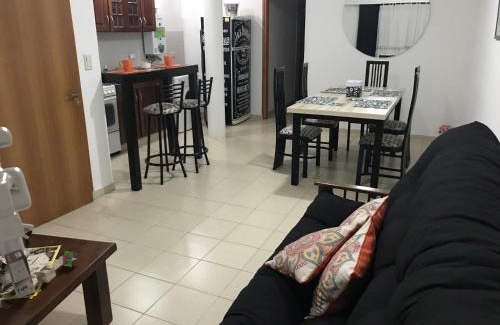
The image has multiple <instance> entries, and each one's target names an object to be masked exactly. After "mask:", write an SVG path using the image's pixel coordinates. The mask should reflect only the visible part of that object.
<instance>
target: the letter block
mask: <svg viewBox="0 0 500 325" xmlns="http://www.w3.org/2000/svg"><path fill="white" fill-rule="evenodd" d="M55 270H56V269H55V265H51V264H50V265H49V264H42V265H41V266H40V267H39V268H37V269H36V270H35V275H36V280H37V282H38V283H50V282H51V281H52V280H53V279H54V278H55V277H56V276H57V275H56V271H55Z"/></svg>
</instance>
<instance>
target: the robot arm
mask: <svg viewBox="0 0 500 325" xmlns="http://www.w3.org/2000/svg"><path fill="white" fill-rule="evenodd" d="M12 145H13V135H12V133H11V131H10V129H8V128H7V127H5V126H0V149H3V148H4V149H5V148H8V147H11V146H12ZM0 159H1V156H0ZM12 189H13V190H12ZM11 190H12V191H11ZM31 206H32V198H31V194H30V191H29V188H28V184H27V181H26V179H25V175H24V173H23V170H22V169H21V168H20V167H16V166H12V167H11V166H10V167H6V168H3V167H2V162H0V256H2V258H5V256H4V255H5V254H8V253H10V252H13V251H16V250H19V249H21V250H22V251H23V253H24V254H25V256H26V257H27V258H28V257H29V256H30V254H31V252H30V249H29V248H30V247H29V246H30V245H31V243H30V236H31V235H32V234H33V232H34V229H35V226H34V224H31V223H24V222H22V218H21V216H20V214H19V212H20V211H25V210H29V209H30V208H31ZM25 229H28V230H27V231H25ZM23 239H24V240H23ZM24 243H25V245H24Z"/></svg>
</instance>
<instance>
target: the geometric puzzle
mask: <svg viewBox="0 0 500 325" xmlns="http://www.w3.org/2000/svg"><path fill="white" fill-rule="evenodd" d="M63 253H64V254H63V255H62V256H61V255H60V256H59V257H58V263H59V264H60V265H62V266H63V265H64V266H63V267H68V266H69V267H68V268H73V263H74V261H76V260H77V257H76V258H74V255H75V253H74V252H73V251H71V250H70V251H68V250H64V252H63Z"/></svg>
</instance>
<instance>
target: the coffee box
mask: <svg viewBox="0 0 500 325" xmlns="http://www.w3.org/2000/svg"><path fill="white" fill-rule="evenodd" d="M4 256H5V259H6V263H7V265H6V266H7V270H8V273H9V276H10V277H9V278H10V280H11V284H12V287H13V290H14V292H15V294H16V296H17V298H18V299H21V298H23V297H26V296H29V295H30V294H33V293H35V292H36V289H35V286H34V281H33V278H32V273H31V270H30V265H29V261H28V257H26V256H25V254H24V253H23V251H22V250H21V249H19V250H16V251H13V252H10V253H8V254H5V255H4Z"/></svg>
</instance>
